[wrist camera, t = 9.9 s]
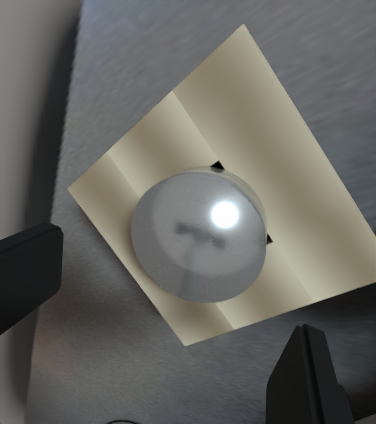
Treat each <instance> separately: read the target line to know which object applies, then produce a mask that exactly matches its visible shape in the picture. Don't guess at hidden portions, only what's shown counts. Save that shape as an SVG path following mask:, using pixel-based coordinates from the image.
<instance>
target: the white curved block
mask: <svg viewBox="0 0 376 424" xmlns="http://www.w3.org/2000/svg"><path fill="white" fill-rule="evenodd" d="M355 424H376V414H374V415H371V416H368V417H366V418H363V419H360V420H358V421H355Z"/></svg>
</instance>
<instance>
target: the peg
mask: <svg viewBox="0 0 376 424" xmlns="http://www.w3.org/2000/svg"><path fill="white" fill-rule="evenodd" d="M131 237H132V243H133V247H134V251H135V253H136V256H137V258H138V260H139V262H140V264H141V265H142V267H143V268H144V270H145V271H146V272H147V274H148V275H149V276H150V277H151V278H152V279H153V280H154V281H155V282H156V283H157V284H158V285H159V286H161V287H162V288H163V289H165V290H166V291H168V292H170V293H172V294H173V295H175V296H178V297H180V298H183V299H186V300H189V301H193V302H199V303H217V302H222V301H226V300H229V299H232V298H234V297H236V296H238V295H240V294H241V293H243V292H244V291H246V290H247V289H248V288H249V287H250V286H251V285H252V284H253V283H254V282H255V280H256V279H257V278H258V276H259V274H260V272H261V270H262V267H263V265H264V261H265V256H266V243H267V217H266V213H265V210H264V207H263V205H262V202H261V200H260V199H259V197H258V195H257V194H256V193H255V191H254V190H253V189H252V188H251V187H250V186H249V185H248V184H247V183H246V182H245V181H244V180H243V179H241V178H240V177H238V176H237V175H235V174H233V173H231V172H229V171H227V170H224V169H221V168H217V167H210V166H197V167H191V168H187V169H184V170H182V171H179V172H177V173H175V174H173V175H171V176H169V177H168V178H166V179H164V180H162V181H160V182H158V183H157V184H155V185H154V186H152V187H151V188H150V189H149V190H148V191H146V192H145V194H144V195H143V196H142V197H141V199H140V200H139V202H138V204H137V206H136V208H135V210H134V213H133V217H132V223H131Z"/></svg>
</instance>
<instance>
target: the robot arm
mask: <svg viewBox="0 0 376 424" xmlns="http://www.w3.org/2000/svg"><path fill="white" fill-rule="evenodd" d="M62 254H63V232H62V231H61V228H60V227H59V226H56V225H53V224H51V223H48V222H44V223H41V224H39V225H36V226H34V227H31V228H29V229H26V230H24V231H22V232H19V233H17V234H14V235H12V236H9V237H7V238H4V239H2V240H0V335H1V334H3V333H4V332H5V331H6V330H8V329H9V328H11V327H12V326H13V325H15V324H16V323H17V322H18V321H20V320H21V319H22V318H24V317H25V316H26V315H28V314H29V313H30V312H32V311H33V310H34V309H36V308H37V307H38V306H40V305H41V304H42V303H44V302H45V301H46V300H48V299H49V298H50V297H52V296H53V295H54V294H55V293H57V291H58V290H59V288H60V286H61V272H62ZM112 424H133V423H129V422H115V423H112ZM266 424H355V422H354V419H353V415H352V412H351V408H350V405H349V401H348V398H347V394H346V392H345V389H344V388H343V387H342V385H340V384H338V383H337V379H336V375H335V371H334V367H333V364H332V360H331V356H330V352H329V348H328V345H327V341H326V337H325V334H324V332H323V331H322V330H319V329H317V328H314V327H312V326H309V325H307V324H304V325H303V326H302V327H300V326H296V328H295V329H294V331H293V333H292V335H291V337H290V339H289V341H288V343H287V345H286V347H285V349H284V351H283V353H282V354H281V356H280V358H279V360H278V362H277V364H276V366H275V368H274V370H273V372H272V374H271V376H270V378H269V380H268V384H267V390H266Z"/></svg>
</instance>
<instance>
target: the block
mask: <svg viewBox="0 0 376 424" xmlns="http://www.w3.org/2000/svg"><path fill="white" fill-rule="evenodd" d="M217 161H220V163H221V164H222V166H223V167H224V169H225V170H227V171H229V172H231V173H233V174H235V175H237V176H238V177H240V178H241V179H243V180H244V181H245V182H246V183H247V184H248V185H249V186H250V187H251V188H252V189H253V190H254V191H255V193H256V194H257V195H258V197H259V199H260V200H261V202H262V205H263V207H264V210H265V213H266V217H267V243H266V256H265V261H264V265H263V267H262V270H261V272H260V274H259V276H258V278H257V279H256V280H255V282H254V283H253V284H252V285H251V286H250V287H249V288H248V289H247V290H246V291H244V292H243V293H241V294H240V295H238V296H236V297H234V298H232V299H229V300H226V301H222V302H217V303H199V302H193V301H189V300H186V299H183V298H180V297H178V296H175V295H173V294H172V293H170V292H168V291H166V290H165V289H163V288H162V287H161V286H159V285H158V284H157V283H156V282H155V281H154V280H153V279H152V278H151V277H150V276H149V275H148V274H147V272H146V271H145V270H144V268H143V267H142V265H141V264H140V262H139V260H138V258H137V256H136V253H135V251H134V247H133V243H132V237H131V223H132V217H133V213H134V210H135V208H136V206H137V204H138V202H139V200H140V199H141V197H142V196H143V195H144V194H145V192H146V191H148V190H149V189H150V188H151V187H152V186H154V185H155V184H157V183H158V182H160V181H162V180H164V179H166V178H168V177H169V176H171V175H173V174H175V173H177V172H179V171H182V170H184V169H187V168H191V167H197V166H211V165H213V164H214V163H216V162H217ZM68 191H69V192H70V193H71V195H72V196H73V197H74V199H75V200H76V201H77V203H78V204H79V205H80V207H81V208H82V209H83V211H84V212H85V213H86V215H87V216H88V217H89V219H90V220H91V221H92V223H93V224H94V225H95V227H96V228H97V229H98V231H99V232H100V233H101V235H102V236H103V237H104V239H105V240H106V241H107V243H108V244H109V245H110V247H111V248H112V249H113V251H114V252H115V253H116V255H117V256H118V257H119V259H120V260H121V261H122V263H123V264H124V265H125V267H126V268H127V269H128V271H129V272H130V273H131V275H132V276H133V277H134V279H135V280H136V281H137V283H138V284H139V285H140V287H141V288H142V289H143V291H144V292H145V293H146V295H147V296H148V297H149V299H150V300H151V301H152V303H153V304H154V306H155V307H156V308H157V310H158V311H159V312H160V314H161V315H162V316H163V318H164V319H165V320H166V322H167V323H168V324H169V326H170V327H171V328H172V330H173V331H174V332H175V334H176V335H177V336H178V338H179V339H180V340H181V342H182V343H183V344H184V346H187V345H190V344H193V343H196V342H199V341H202V340H205V339H208V338H211V337H214V336H217V335H220V334H223V333H226V332H229V331H232V330H235V329H238V328H241V327H244V326H247V325H250V324H253V323H256V322H259V321H262V320H265V319H268V318H271V317H274V316H276V315H279V314H282V313H285V312H288V311H291V310H294V309H297V308H300V307H303V306H306V305H309V304H312V303H315V302H318V301H321V300H324V299H327V298H330V297H333V296H336V295H339V294H342V293H345V292H348V291H351V290H354V289H357V288H360V287H363V286H365V285H368V284H371V283H374V282H376V236H375V235H374V233H373V231H372V230H371V228H370V227H369V225H368V223H367V222H366V220H365V218H364V217H363V215H362V214H361V212H360V210H359V209H358V207H357V206H356V204H355V202H354V201H353V199H352V198H351V196H350V194H349V193H348V191H347V189H346V188H345V186H344V185H343V183H342V181H341V180H340V178H339V177H338V175H337V173H336V172H335V170H334V169H333V167H332V165H331V164H330V162H329V160H328V159H327V157H326V156H325V154H324V152H323V151H322V149H321V148H320V146H319V144H318V143H317V141H316V140H315V138H314V136H313V135H312V133H311V132H310V130H309V128H308V127H307V125H306V123H305V122H304V120H303V119H302V117H301V115H300V114H299V112H298V111H297V109H296V107H295V106H294V104H293V103H292V101H291V99H290V98H289V96H288V94H287V93H286V91H285V90H284V88H283V86H282V85H281V83H280V82H279V80H278V78H277V77H276V75H275V74H274V72H273V70H272V69H271V67H270V65H269V64H268V62H267V61H266V59H265V57H264V56H263V54H262V53H261V51H260V49H259V48H258V46H257V45H256V43H255V41H254V40H253V38H252V36H251V35H250V33H249V32H248V30H247V28H246V27H245V25H244V24H243V25H242V26H240V27H239V28H238V29H237V30H236V31H235V32H234V33H233V34H232V35H231V36H230V37H229V38H228V39H227V40H226V41H224V42H223V43H222V44H221V45H220V46H219V47H218V48H217V49H216V50H215V51H214V52H213V53H212V54H211V55H210V56H208V57H207V58H206V59H205V60H204V61H203V62H202V63H201V64H200V65H199V66H198V67H197V68H196V69H195V70H194V71H192V72H191V73H190V74H189V75H188V76H187V77H186V78H185V79H184V80H183V81H182V82H181V83H180V84H179V85H178V86H176V87H175V88H174V89H173V90H172V91H171V92H170V93H169V94H168V95H167V96H166V97H165V98H164V99H163V100H162V101H160V102H159V103H158V104H157V105H156V106H155V107H154V108H153V109H152V110H151V111H150V112H149V113H148V114H147V115H146V116H145V117H143V118H142V119H141V120H140V121H139V122H138V123H137V124H136V125H135V126H134V127H133V128H132V129H131V130H130V131H129V132H127V133H126V134H125V135H124V136H123V137H122V138H121V139H120V140H119V141H118V142H117V143H116V144H115V145H114V146H113V147H111V148H110V149H109V150H108V151H107V152H106V153H105V154H104V155H103V156H102V157H101V158H100V159H99V160H98V161H97V162H95V163H94V164H93V165H92V166H91V167H90V168H89V169H88V170H87V171H86V172H85V173H84V174H83V175H82V176H81V177H79V178H78V179H77V180H76V181H75V182H74V183H73V184H72V185H71V186H70V187H69V188H68Z"/></svg>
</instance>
